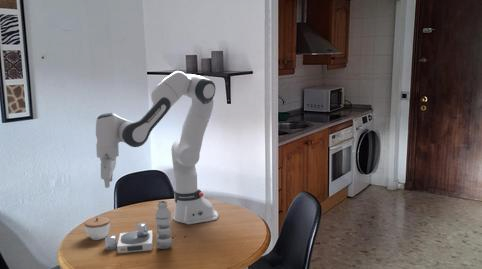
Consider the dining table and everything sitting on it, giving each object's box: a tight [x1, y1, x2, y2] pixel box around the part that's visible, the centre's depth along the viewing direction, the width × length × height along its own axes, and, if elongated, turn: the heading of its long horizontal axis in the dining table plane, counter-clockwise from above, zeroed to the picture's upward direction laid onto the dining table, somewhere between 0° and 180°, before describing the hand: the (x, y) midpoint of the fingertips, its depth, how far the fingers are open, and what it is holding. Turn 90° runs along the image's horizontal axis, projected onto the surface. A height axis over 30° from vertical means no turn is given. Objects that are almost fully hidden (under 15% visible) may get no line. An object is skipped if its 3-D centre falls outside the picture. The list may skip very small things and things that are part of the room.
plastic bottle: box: [154, 200, 173, 250], centre depth 177 cm, size 6×7×20 cm
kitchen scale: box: [116, 230, 154, 254], centre depth 182 cm, size 14×14×4 cm
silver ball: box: [135, 222, 149, 238], centre depth 182 cm, size 5×5×5 cm
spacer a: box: [104, 234, 118, 251], centre depth 179 cm, size 5×5×5 cm
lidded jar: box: [84, 216, 111, 241], centre depth 190 cm, size 11×11×9 cm
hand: (108, 184), depth 179 cm, fingers open, 8 cm apart
